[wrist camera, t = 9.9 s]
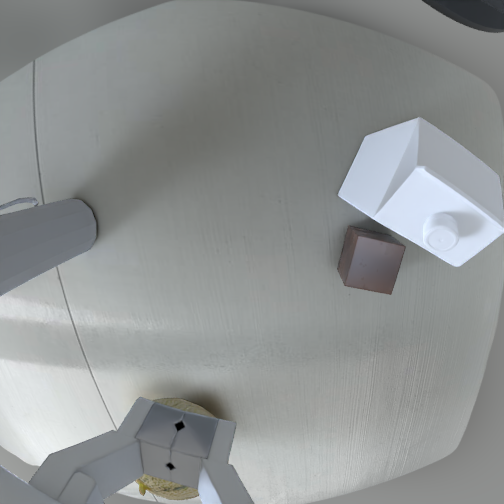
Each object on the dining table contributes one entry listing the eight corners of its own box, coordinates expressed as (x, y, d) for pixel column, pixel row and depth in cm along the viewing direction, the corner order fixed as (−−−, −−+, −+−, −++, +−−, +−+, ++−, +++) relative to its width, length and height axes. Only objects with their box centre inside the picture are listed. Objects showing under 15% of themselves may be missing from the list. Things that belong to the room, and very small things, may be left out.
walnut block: (348, 225, 33) (357, 235, 28) (390, 235, 33) (406, 246, 28) (337, 269, 34) (344, 286, 30) (378, 277, 34) (391, 295, 29)
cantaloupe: (256, 413, 41) (242, 500, 27) (205, 457, 45) (184, 528, 31) (165, 358, 40) (118, 435, 26) (128, 411, 44) (88, 477, 30)
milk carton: (364, 135, 30) (449, 106, 12) (420, 168, 30) (535, 180, 12) (336, 195, 32) (392, 233, 14) (392, 225, 32) (486, 290, 14)
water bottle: (112, 229, 36) (-61, 313, 12) (77, 265, 38) (-70, 354, 14) (73, 172, 35) (-104, 203, 11) (42, 211, 37) (-112, 263, 13)
